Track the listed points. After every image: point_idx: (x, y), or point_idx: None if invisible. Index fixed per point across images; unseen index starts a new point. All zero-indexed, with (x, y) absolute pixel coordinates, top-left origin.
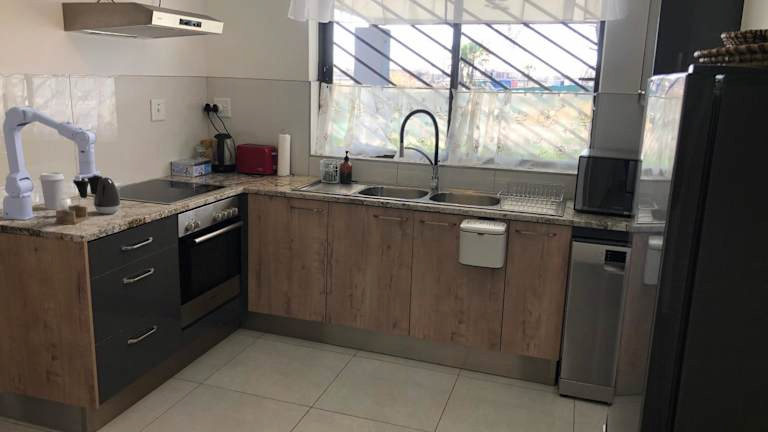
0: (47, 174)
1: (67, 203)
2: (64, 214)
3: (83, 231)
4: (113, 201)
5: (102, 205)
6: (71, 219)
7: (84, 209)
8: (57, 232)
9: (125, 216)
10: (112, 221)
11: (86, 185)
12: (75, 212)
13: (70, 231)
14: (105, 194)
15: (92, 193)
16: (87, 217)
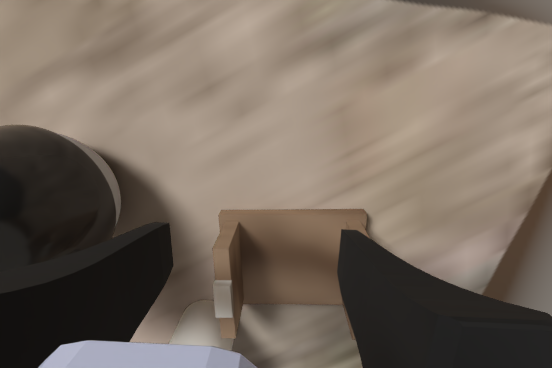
0: None
1: None
2: None
3: (510, 96)
4: (37, 144)
5: (107, 197)
6: None
7: (232, 247)
8: (529, 207)
9: (114, 46)
10: (255, 58)
11: (458, 292)
12: (238, 282)
13: (509, 160)
14: (23, 210)
15: (168, 262)
16: (239, 213)
